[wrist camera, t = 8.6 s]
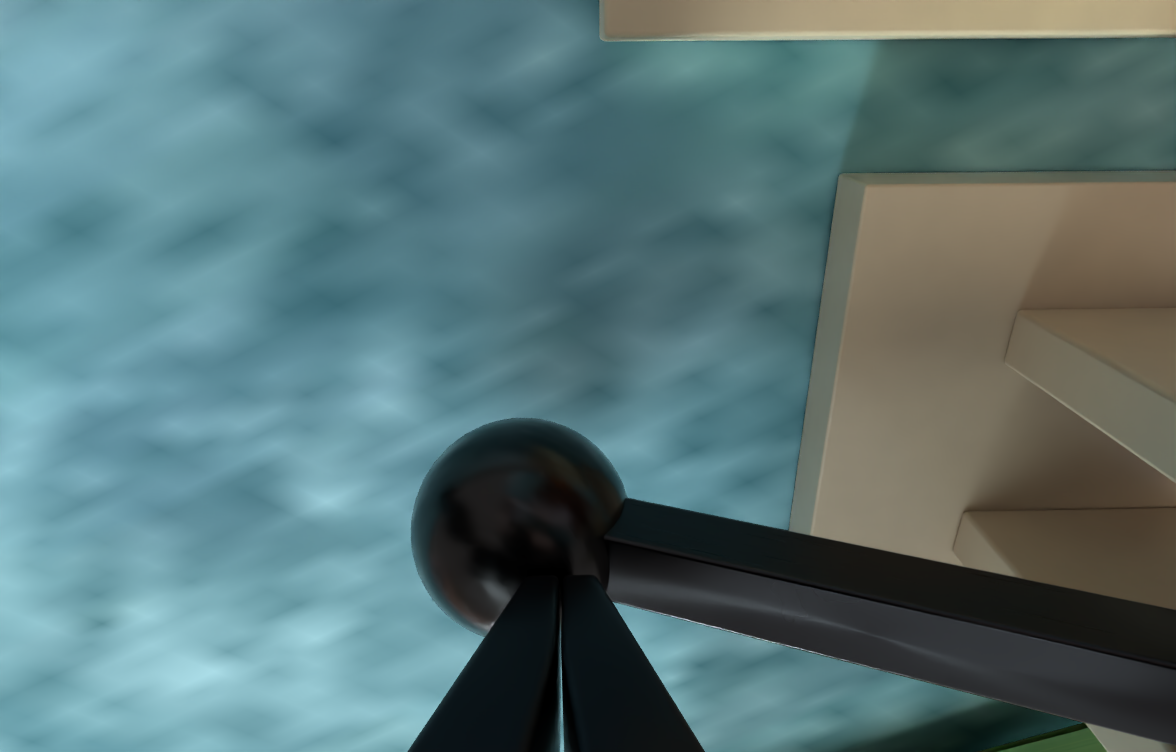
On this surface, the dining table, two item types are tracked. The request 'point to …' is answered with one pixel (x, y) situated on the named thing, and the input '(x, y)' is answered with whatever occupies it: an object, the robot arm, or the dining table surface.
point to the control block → (883, 19)
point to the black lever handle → (780, 584)
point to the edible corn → (1056, 742)
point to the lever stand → (1001, 379)
